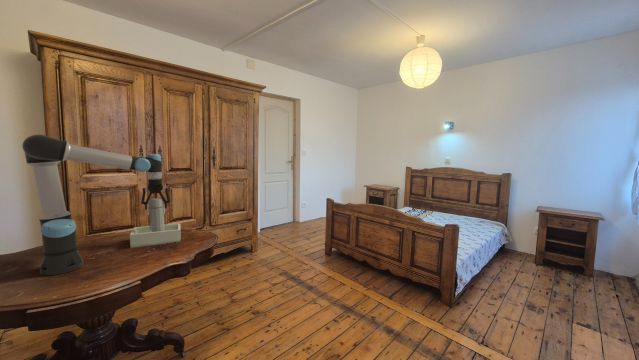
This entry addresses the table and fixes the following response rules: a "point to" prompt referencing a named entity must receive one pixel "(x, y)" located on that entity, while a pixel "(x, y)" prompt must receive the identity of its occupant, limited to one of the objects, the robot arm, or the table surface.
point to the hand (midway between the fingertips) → (156, 213)
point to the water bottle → (156, 215)
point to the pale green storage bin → (155, 236)
